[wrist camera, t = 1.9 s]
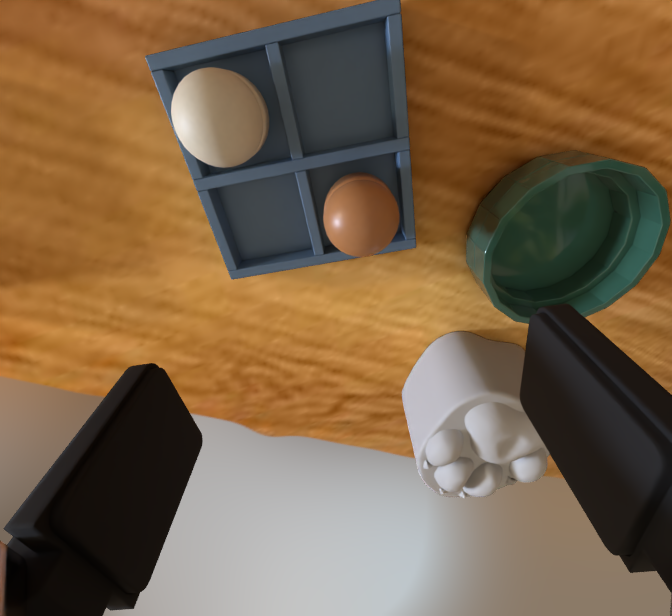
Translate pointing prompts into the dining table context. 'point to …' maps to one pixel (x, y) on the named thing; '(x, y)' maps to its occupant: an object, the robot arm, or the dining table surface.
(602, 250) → the bowl
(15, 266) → the dining table surface
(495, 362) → the lumpy-topped squat cylinder
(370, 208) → the brown egg
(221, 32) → the dining table surface
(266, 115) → the cream egg
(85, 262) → the dining table surface
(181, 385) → the dining table surface
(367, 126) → the egg tray
